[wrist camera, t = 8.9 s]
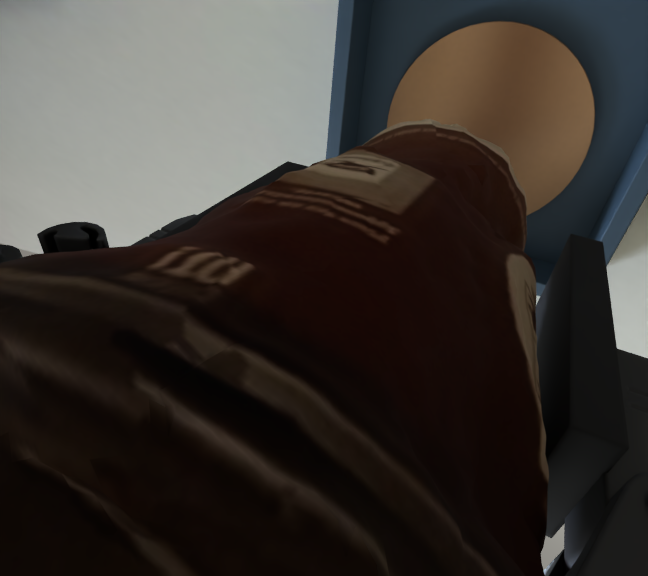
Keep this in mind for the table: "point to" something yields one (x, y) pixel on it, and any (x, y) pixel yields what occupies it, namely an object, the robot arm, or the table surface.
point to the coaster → (507, 99)
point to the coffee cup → (287, 381)
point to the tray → (570, 28)
